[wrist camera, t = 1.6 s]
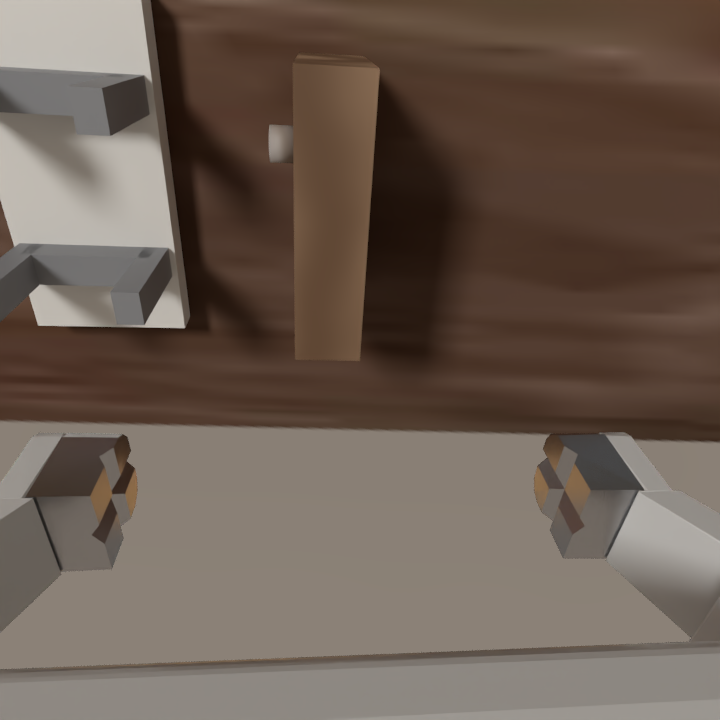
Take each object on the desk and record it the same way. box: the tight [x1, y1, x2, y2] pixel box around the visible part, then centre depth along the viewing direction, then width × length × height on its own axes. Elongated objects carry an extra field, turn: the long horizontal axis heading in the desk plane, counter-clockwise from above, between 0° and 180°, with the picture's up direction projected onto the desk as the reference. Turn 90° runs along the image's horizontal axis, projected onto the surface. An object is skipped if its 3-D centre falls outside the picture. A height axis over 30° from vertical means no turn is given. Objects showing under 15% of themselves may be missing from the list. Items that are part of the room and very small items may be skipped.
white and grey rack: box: [0, 0, 190, 328], centre depth 24 cm, size 8×16×7 cm, turn 177°
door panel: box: [269, 52, 380, 361], centre depth 25 cm, size 4×12×8 cm, turn 177°
